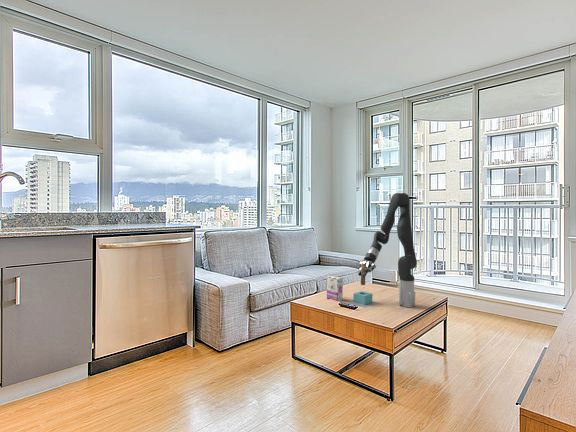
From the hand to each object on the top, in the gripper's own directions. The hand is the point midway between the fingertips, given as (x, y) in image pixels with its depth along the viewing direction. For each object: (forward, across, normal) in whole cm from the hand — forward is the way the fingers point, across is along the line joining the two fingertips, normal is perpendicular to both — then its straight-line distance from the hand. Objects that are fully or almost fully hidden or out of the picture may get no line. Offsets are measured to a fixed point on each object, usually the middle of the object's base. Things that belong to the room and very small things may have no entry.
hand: (361, 275), depth 225 cm
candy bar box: (+18, -18, +10) cm, 27 cm away
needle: (+3, 0, +6) cm, 7 cm away
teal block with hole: (+12, 0, +14) cm, 19 cm away
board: (+13, +1, +14) cm, 20 cm away
